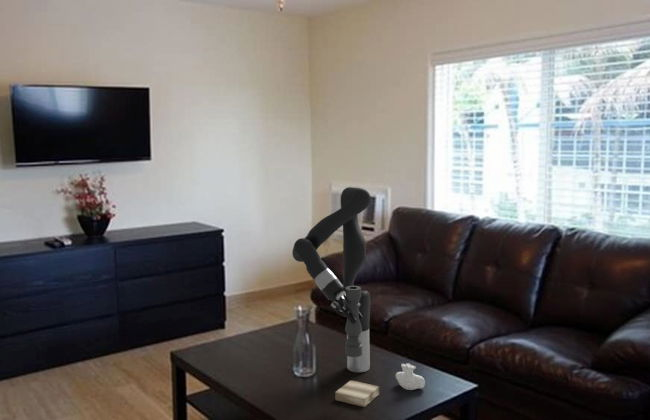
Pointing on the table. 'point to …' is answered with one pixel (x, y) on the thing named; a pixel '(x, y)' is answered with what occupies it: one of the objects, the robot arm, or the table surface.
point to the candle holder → (354, 330)
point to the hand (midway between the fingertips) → (357, 320)
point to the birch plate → (357, 393)
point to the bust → (409, 378)
